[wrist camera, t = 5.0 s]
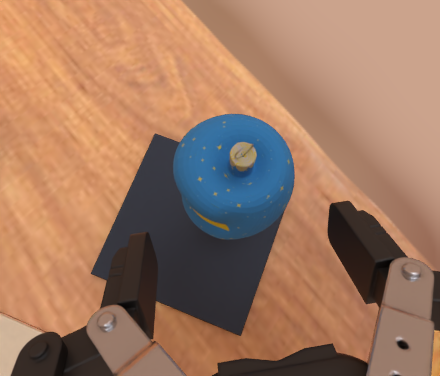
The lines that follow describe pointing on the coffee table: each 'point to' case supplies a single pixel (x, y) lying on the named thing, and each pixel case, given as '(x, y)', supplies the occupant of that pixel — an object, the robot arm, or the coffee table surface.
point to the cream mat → (13, 341)
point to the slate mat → (187, 247)
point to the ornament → (233, 175)
